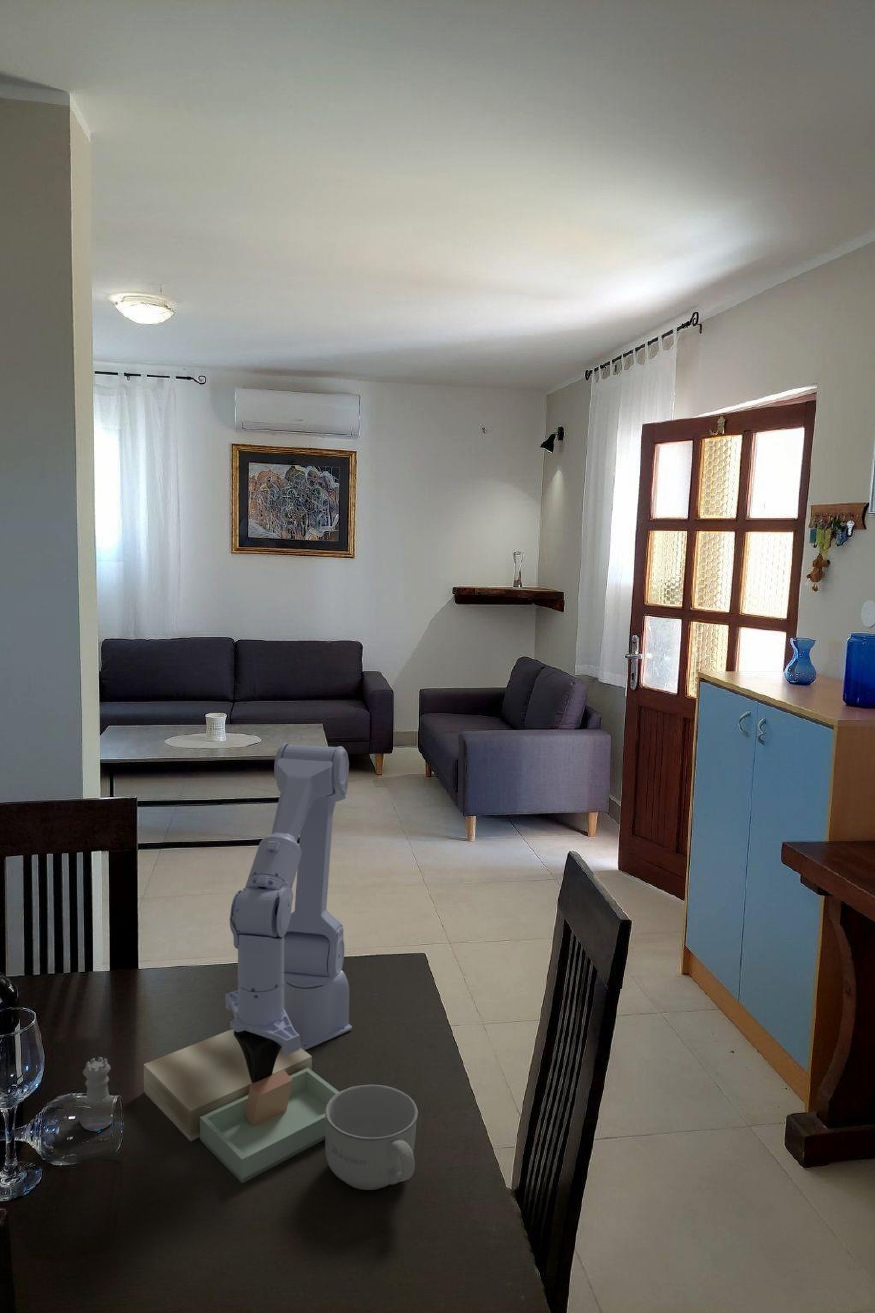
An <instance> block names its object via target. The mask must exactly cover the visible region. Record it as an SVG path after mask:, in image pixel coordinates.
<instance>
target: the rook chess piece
mask: <svg viewBox="0 0 875 1313" xmlns="http://www.w3.org/2000/svg"><path fill="white" fill-rule="evenodd" d="M111 1070H112V1067H111V1065H110V1064H109V1063H108V1059H107V1058H103V1056H102V1057H101V1056H98V1059H97V1060H96V1059H95V1057H93V1058H91V1059H90V1061H87V1062H86V1063H85V1068H84V1069H83V1071H82V1075H83V1076H84V1077H85V1078H86V1081H85V1082H84V1083H85V1084H84V1085H85V1086H86V1089H87V1090H86V1096H87V1098H88V1100H89V1101H91V1102H101V1101H103V1100H102V1099H105V1098H106V1097H107V1096H110V1094H109V1086H108V1082H109V1081H110V1078H109V1076H108V1074H109V1072H110V1071H111Z"/></svg>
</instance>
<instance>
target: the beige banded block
mask: <svg viewBox="0 0 875 1313" xmlns="http://www.w3.org/2000/svg"><path fill="white" fill-rule="evenodd" d="M306 1068H309V1069H310V1070H312V1071H313V1056H312V1055H311V1054H309V1052H307V1050H303V1049H302V1048H300V1049H299V1050H297V1051H295V1052H293V1053H290V1054H288V1055H285V1054H284V1053H283V1052H282V1047H281V1049H280V1051H279V1053H278V1056H277V1058H276V1062H275V1065H274V1069H273V1072H272V1075H273V1074H276V1073H278V1072H280V1071H282V1070H285V1072H286V1073H287V1074H288V1075H289V1076H291V1075H293V1074H295V1073H297V1072H299V1071H302V1070H304V1069H306ZM251 1084H253V1083H252V1082H251V1079H250V1075H249V1071H248V1067H247V1063H246V1060H245V1057H244V1054H243V1051H242V1049H241V1046H240V1044H239V1043H238V1041H237V1039H236V1038H235V1036H234V1030H233V1029H232V1028H231V1029H230V1030H226V1031H224V1032H221V1033H219V1034H217V1035H214V1036H211V1037H209V1038H206V1039H204V1040H202V1041H199V1042H196V1043H194V1044H191V1045H189V1046H185V1047H184V1048H181V1049H179V1050H176V1051H173V1052H171V1053H168V1054H166V1055H164V1056H161V1057H158V1058H156V1059H153V1060H150V1061H149V1062H145V1063H144V1064H143V1093H144V1094H145V1095H146V1096H147V1097H148V1098H149V1099H150V1101H152V1102H153V1104H154V1105H156V1106H157V1107H158V1109H159V1110H161V1112H162V1113H163V1114H164V1115H165V1116H166V1117H167V1118H168V1119H169V1120H170V1121H171V1122H172V1123H173V1124H174V1126H176V1127H177V1128H178V1130H179V1131H180V1132H181V1133H182V1135H184V1136H185V1137H186V1138H187V1139H188V1140H189V1142H193V1141H194V1140H197V1139H198V1138H199V1139H200V1117H201V1116H204V1115H206V1114H208V1113H210V1112H212V1111H214V1110H217V1109H219V1108H221V1107H223V1106H225V1105H228V1104H230V1103H232V1102H234V1101H236V1100H238V1099H241V1098H243V1097H245V1096H247V1095H249V1089H250V1085H251Z"/></svg>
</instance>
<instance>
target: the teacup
mask: <svg viewBox="0 0 875 1313" xmlns="http://www.w3.org/2000/svg"><path fill="white" fill-rule="evenodd" d="M325 1116H326V1131H325V1140H324V1142H325V1146H324V1147H325V1148H324V1149H325V1157H326V1161H327V1164H328V1167H329V1168H330V1170H331V1171H332V1172H333V1174H334V1175H335V1176H336V1177H337V1178H339V1180H341V1181H343V1182H345V1184H347V1185H349V1186H350V1187H352V1188H354V1189H355V1188H356V1189H359V1190H365V1191H366V1190H367V1191H371V1190H372V1191H373V1190H379V1189H382V1188H385V1187H387V1186H389V1185H395V1184H398V1183H400V1182H405V1181H408V1180H410V1178H411V1177H413V1175H414V1173H415V1172H414V1171H415V1169H416V1165H415V1156H414V1150H415V1142H416V1131H417V1129H416V1128H417V1120H418V1117H419V1112H418V1107H417V1104H416V1103H415V1101H414V1100H413V1098H411V1097H410V1095H408V1094H406V1092H403V1091H402V1090H399V1089H397V1088H395V1087H391V1086H388V1085H382V1084H365V1085H364V1084H361V1085H355V1086H350V1087H349V1088H345V1089H343V1090H340V1091H339V1093H337V1094H336V1095H334V1096H333V1097H332V1098H331V1099H330V1101H329V1102H328V1104H327V1106H326V1110H325Z"/></svg>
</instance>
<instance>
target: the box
mask: <svg viewBox="0 0 875 1313" xmlns="http://www.w3.org/2000/svg"><path fill="white" fill-rule="evenodd" d="M289 1077H290V1078H291V1079H292V1085H291V1090H290V1096H289V1101H288V1106H287V1111H285V1112H283V1113H281V1114H279V1115H277V1116H274V1117H272V1118H270V1119H268V1120H266V1121H264V1122H262V1123H260V1124H258V1125H256V1126H254V1127H253V1126H252V1125H251V1124H250V1122H249V1121H248V1119H247V1118H246V1117H245V1112H246V1106H247V1101H248V1095H247V1096H245V1097H243V1098H241V1099H238V1100H236V1101H234V1102H232V1103H230V1104H228V1105H225V1106H223V1107H221V1108H219V1109H217V1110H214V1111H212V1112H210V1113H208V1114H206V1115H204V1116H201V1117H200V1137H199V1140H200V1141H201V1142H202V1143H203V1145H204V1146H205V1147H206V1148H207V1149H208V1150H209V1151H210V1152H211V1153H212V1154H213V1155H214V1156H215V1157H216V1158H217V1159H218V1161H220V1162H221V1163H222V1165H224V1167H226V1168H227V1170H228V1171H229V1172H230V1173H231V1174H233V1176H234V1177H236V1179H237V1180H238V1181H239V1182H240V1183H241V1184H244V1183H246V1182H247V1181H249V1180H251V1179H253V1178H255V1177H257V1176H259V1175H261V1174H263V1173H265V1172H267V1171H268V1170H270V1169H272V1168H274V1167H276V1166H278V1165H280V1164H282V1163H283V1162H284V1161H288V1160H289V1159H291V1158H292V1157H294V1156H295V1157H296V1156H297V1155H298V1154H300V1153H302V1152H305V1151H306V1150H308V1149H310V1148H311V1147H313V1146H315V1145H317V1144H318V1143H321V1142H322V1141H325V1131H326V1116H325V1110H326V1106H327V1104H328V1102H329V1101H330V1099H331V1098H332V1097H333V1096H334V1095H336V1094H337V1093H339V1092H340V1091H339V1090H338V1089H336V1088H335V1087H334V1086H332V1085H331V1084H330V1083H329V1082H328V1081H326V1080H325V1079H323V1078H322V1077H321V1076H319V1075H318V1074H317V1073H315V1072H314V1071H313V1069H312V1070H310V1069H309V1068H306V1069H304V1070H302V1071H299V1072H297V1073H295V1074H293V1075H291V1076H289Z"/></svg>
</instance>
